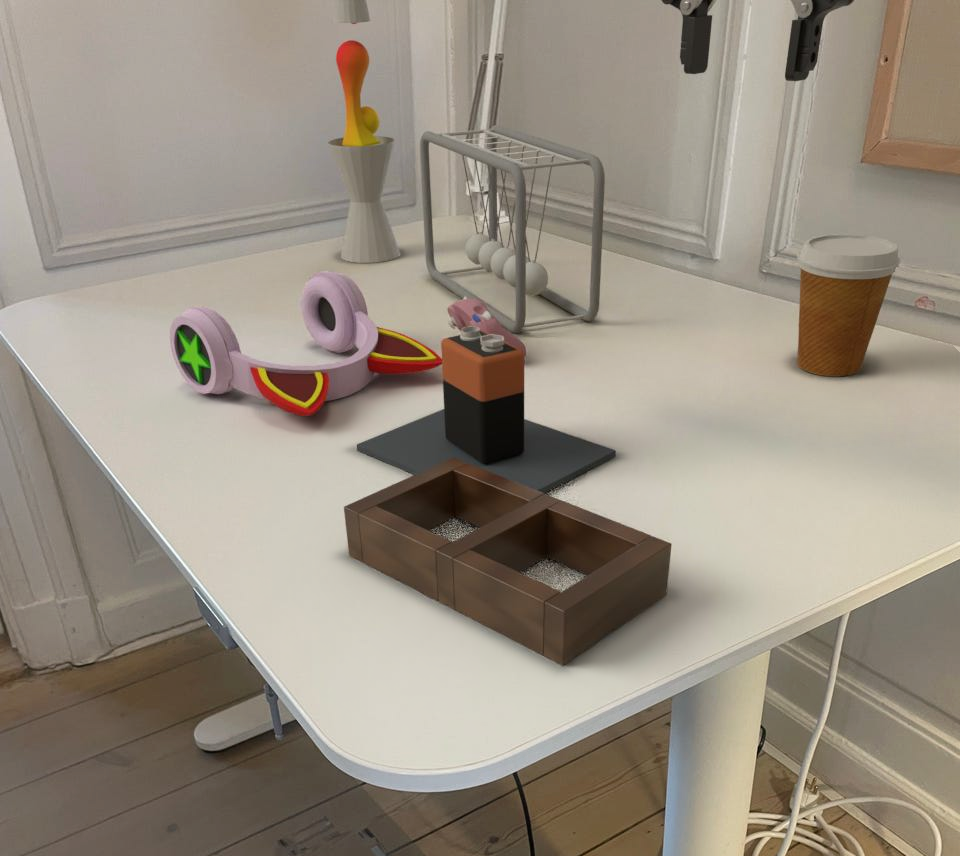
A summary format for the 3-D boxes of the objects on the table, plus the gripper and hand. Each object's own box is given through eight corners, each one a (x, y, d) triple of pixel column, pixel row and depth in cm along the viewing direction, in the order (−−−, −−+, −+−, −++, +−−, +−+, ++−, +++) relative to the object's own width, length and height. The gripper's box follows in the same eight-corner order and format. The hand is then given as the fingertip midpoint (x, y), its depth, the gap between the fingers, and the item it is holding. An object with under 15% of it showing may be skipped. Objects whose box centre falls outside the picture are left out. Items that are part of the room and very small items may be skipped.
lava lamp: (375, 266, 139) (351, -36, 119) (326, 258, 144) (294, -35, 124) (414, 251, 146) (397, -38, 126) (365, 244, 150) (341, -37, 130)
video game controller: (462, 354, 113) (433, 302, 108) (494, 330, 113) (467, 277, 109) (497, 382, 106) (468, 327, 101) (532, 357, 106) (505, 301, 101)
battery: (483, 467, 83) (480, 349, 78) (443, 440, 88) (437, 327, 83) (526, 455, 85) (527, 339, 80) (485, 428, 90) (482, 317, 84)
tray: (667, 594, 68) (672, 543, 65) (562, 666, 61) (564, 611, 59) (454, 503, 79) (452, 457, 77) (348, 555, 73) (343, 506, 71)
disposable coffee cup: (776, 349, 107) (794, 232, 101) (868, 351, 106) (892, 233, 99) (786, 381, 100) (806, 256, 93) (885, 383, 99) (912, 257, 92)
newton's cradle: (425, 274, 135) (417, 129, 125) (495, 265, 138) (493, 122, 128) (518, 339, 112) (517, 167, 102) (600, 325, 116) (607, 157, 105)
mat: (615, 456, 86) (616, 450, 86) (506, 513, 78) (506, 506, 78) (467, 405, 96) (467, 399, 96) (356, 450, 88) (356, 444, 88)
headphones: (313, 266, 110) (441, 272, 97) (330, 356, 114) (453, 373, 102) (157, 308, 98) (280, 322, 85) (183, 406, 103) (303, 432, 90)
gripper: (651, -203, 66) (635, 76, 75) (852, -229, 58) (806, 88, 67) (714, -196, 71) (691, 67, 80) (909, -219, 62) (858, 77, 72)
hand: (744, 76), depth 74 cm, fingers open, 8 cm apart
